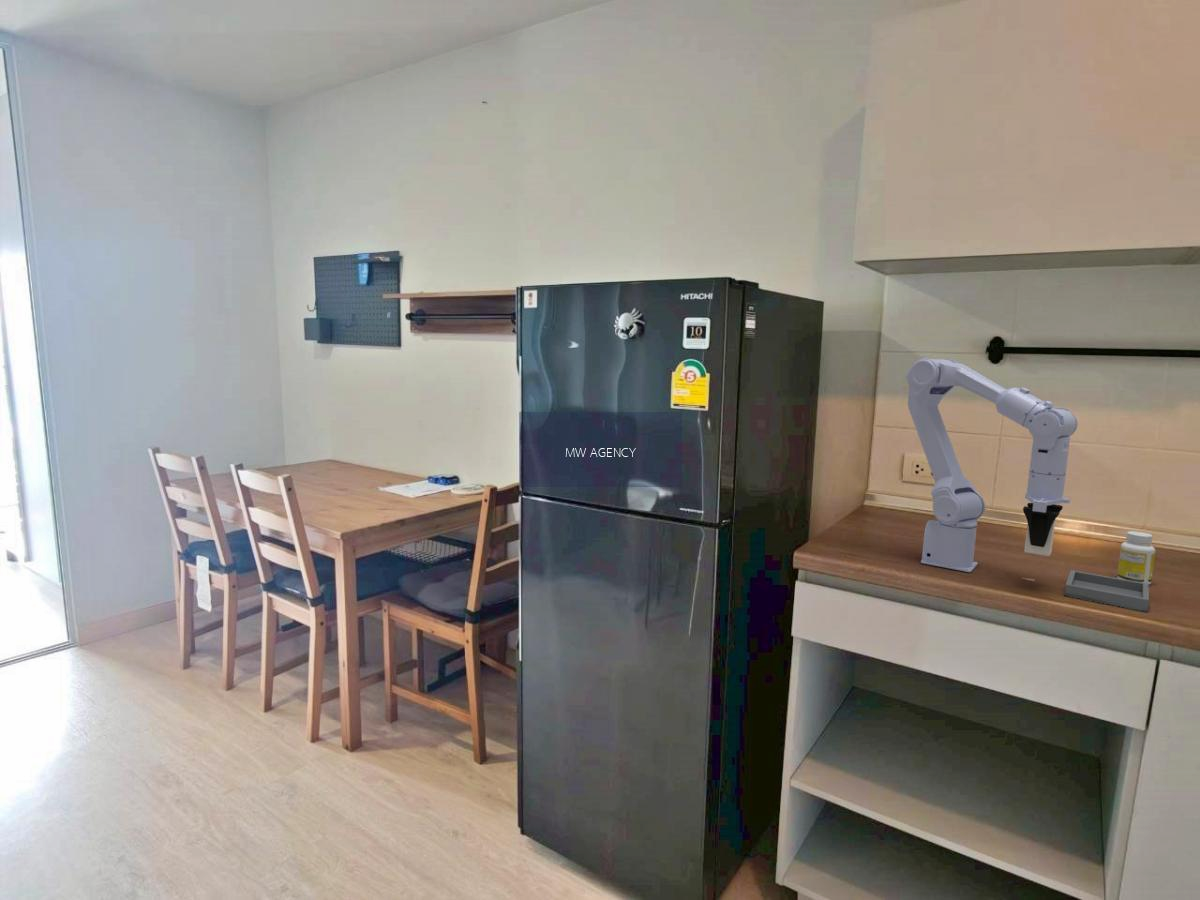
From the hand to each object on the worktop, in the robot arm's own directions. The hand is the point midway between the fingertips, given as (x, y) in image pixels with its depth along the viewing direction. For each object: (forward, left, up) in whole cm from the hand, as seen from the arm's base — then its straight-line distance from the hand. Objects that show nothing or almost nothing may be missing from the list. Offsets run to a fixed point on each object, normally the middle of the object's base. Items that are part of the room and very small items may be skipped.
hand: (1038, 543), depth 128 cm
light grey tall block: (0, 0, -2) cm, 2 cm away
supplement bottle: (+15, +19, -9) cm, 26 cm away
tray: (+11, +4, -9) cm, 15 cm away
